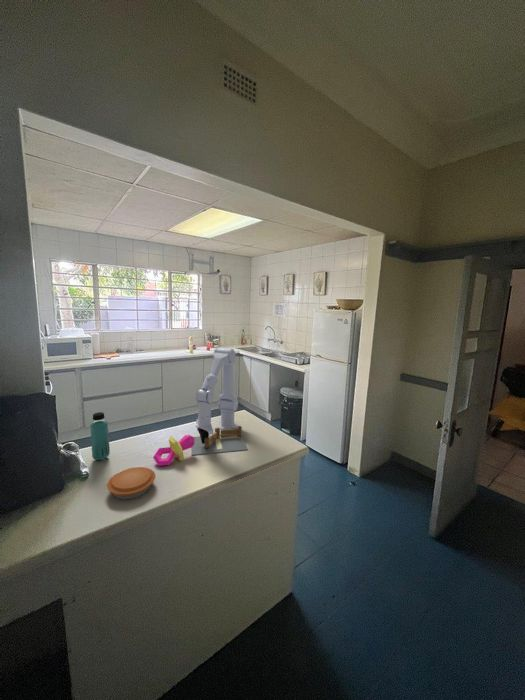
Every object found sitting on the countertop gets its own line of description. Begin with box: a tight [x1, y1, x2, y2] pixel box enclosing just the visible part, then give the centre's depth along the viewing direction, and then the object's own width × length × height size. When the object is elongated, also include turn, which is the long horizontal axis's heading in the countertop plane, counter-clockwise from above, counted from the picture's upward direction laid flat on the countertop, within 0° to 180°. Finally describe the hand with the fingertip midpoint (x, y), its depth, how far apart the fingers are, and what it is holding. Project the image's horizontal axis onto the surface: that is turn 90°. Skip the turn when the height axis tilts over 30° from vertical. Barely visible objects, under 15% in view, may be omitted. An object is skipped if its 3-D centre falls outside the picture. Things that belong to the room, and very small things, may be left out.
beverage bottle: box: [89, 411, 111, 461], centre depth 115 cm, size 6×7×20 cm
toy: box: [152, 434, 195, 467], centre depth 118 cm, size 10×18×10 cm, turn 131°
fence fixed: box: [214, 425, 242, 439], centre depth 139 cm, size 2×13×5 cm, turn 105°
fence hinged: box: [204, 431, 217, 449], centre depth 131 cm, size 10×2×5 cm, turn 163°
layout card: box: [190, 433, 249, 456], centre depth 133 cm, size 17×25×1 cm
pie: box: [106, 466, 156, 501], centre depth 98 cm, size 15×16×5 cm
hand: (204, 442), depth 130 cm, fingers closed
